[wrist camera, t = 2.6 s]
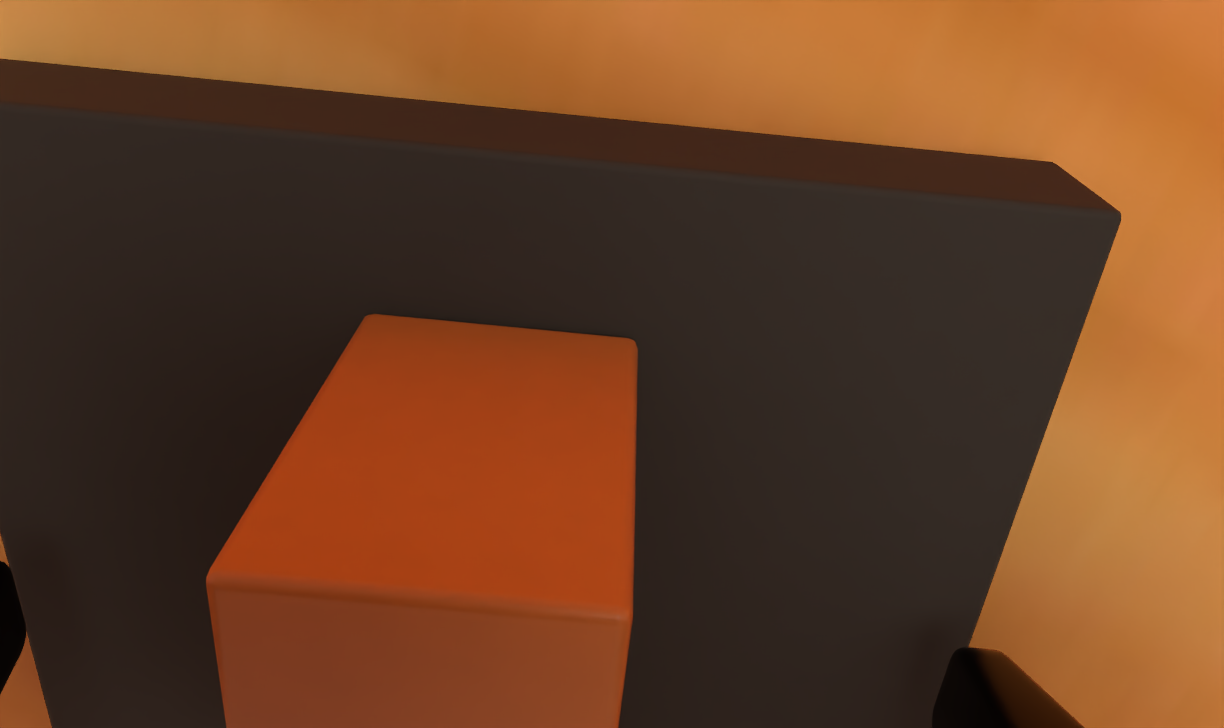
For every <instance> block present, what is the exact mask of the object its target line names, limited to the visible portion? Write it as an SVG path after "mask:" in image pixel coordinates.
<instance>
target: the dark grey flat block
mask: <svg viewBox="0 0 1224 728" xmlns="http://www.w3.org/2000/svg"><path fill="white" fill-rule="evenodd" d="M1120 222H1121V213H1120V212H1119V211H1118V210H1117V209H1115V208H1114V207H1113V206H1111V205H1110V204H1109V203H1107V202H1106V201H1105V200H1103V199H1102V198H1101V197H1099V196H1098V195H1097V194H1095V193H1094V192H1093V191H1091V190H1090V189H1089V188H1087V187H1086V186H1085V185H1083V184H1082V183H1081V182H1079V181H1078V180H1077V179H1075V178H1074V177H1072V176H1071V175H1070V174H1068V173H1067V172H1066V171H1064V170H1063V169H1062V168H1060V167H1059V166H1058V165H1056V164H1055V163H1053V162H1045V161H1035V160H1025V159H1015V158H1004V157H994V156H984V155H974V154H964V153H953V152H943V151H933V150H923V149H913V148H903V147H892V146H882V145H872V144H862V143H852V142H842V141H831V140H821V139H811V138H801V137H791V136H781V135H770V134H760V133H750V132H740V131H730V130H720V129H709V128H699V127H689V126H679V125H669V124H658V123H648V122H638V121H628V120H618V119H608V118H597V117H587V116H577V115H567V114H557V113H547V112H536V111H526V110H516V109H506V108H496V107H486V106H475V105H465V104H455V103H445V102H435V101H425V100H414V99H404V98H394V97H384V96H374V95H363V94H353V93H343V92H333V91H323V90H313V89H302V88H292V87H282V86H272V85H262V84H252V83H241V82H231V81H221V80H211V79H201V78H191V77H180V76H170V75H160V74H150V73H140V72H130V71H119V70H109V69H99V68H89V67H79V66H69V65H58V64H48V63H38V62H28V61H18V60H7V59H0V533H1V537H2V540H3V544H4V548H5V552H6V556H7V559H8V563H9V567H10V569H11V571H12V574H13V578H14V581H15V585H16V589H17V593H18V596H19V600H20V604H21V608H22V611H23V615H24V619H25V623H26V631H27V635H28V638H29V642H30V646H31V650H32V654H33V657H34V661H35V665H36V669H37V672H38V676H39V680H40V684H41V688H42V691H43V695H44V699H45V703H46V706H47V710H48V714H49V718H50V721H51V725H52V728H932V714H933V708H934V705H935V702H936V699H937V696H938V693H939V690H940V687H941V684H942V681H943V679H944V676H945V673H946V670H947V667H948V664H949V661H950V659H951V657H952V655H953V653H954V652H955V651H956V650H957V649H959V648H962V647H968V646H969V643H970V641H971V638H972V635H973V632H974V629H975V627H976V624H977V621H978V618H979V615H980V613H981V610H982V607H983V604H984V601H985V599H986V596H987V593H988V590H989V587H990V585H991V582H992V579H993V576H994V574H995V571H996V568H997V565H998V562H999V560H1000V557H1001V554H1002V551H1003V548H1004V546H1005V543H1006V540H1007V537H1008V534H1009V532H1010V529H1011V526H1012V523H1013V520H1014V518H1015V515H1016V512H1017V509H1018V507H1019V504H1020V501H1021V498H1022V495H1023V493H1024V490H1025V487H1026V484H1027V481H1028V479H1029V476H1030V473H1031V470H1032V467H1033V465H1034V462H1035V459H1036V456H1037V453H1038V451H1039V448H1040V445H1041V442H1042V440H1043V437H1044V434H1045V431H1046V428H1047V426H1048V423H1049V420H1050V417H1051V414H1052V412H1053V409H1054V406H1055V403H1056V400H1057V398H1058V395H1059V392H1060V389H1061V386H1062V384H1063V381H1064V378H1065V375H1066V373H1067V370H1068V367H1069V364H1070V361H1071V359H1072V356H1073V353H1074V350H1075V347H1076V345H1077V342H1078V339H1079V336H1080V333H1081V331H1082V328H1083V325H1084V322H1085V319H1086V317H1087V314H1088V311H1089V308H1090V306H1091V303H1092V300H1093V297H1094V294H1095V292H1096V289H1097V286H1098V283H1099V280H1100V278H1101V275H1102V272H1103V269H1104V266H1105V264H1106V261H1107V258H1108V255H1109V252H1110V250H1111V247H1112V244H1113V241H1114V238H1115V236H1116V233H1117V230H1118V227H1119V225H1120Z"/></svg>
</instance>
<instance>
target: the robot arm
mask: <svg viewBox="0 0 1224 728" xmlns="http://www.w3.org/2000/svg"><path fill="white" fill-rule="evenodd" d="M25 638H26V623H25V619H24V615H23V611H22V608H21V604H20V600H19V596H18V593H17V589H16V585H15V581H14V578H13V574H12V571H11V569H10V568H9V567H8V565H7V564H6V563H4V562H1V561H0V694H1V692H2V690H3V688H4V686H5V684H6V682H7V680H8V678H9V676H10V674H11V672H12V670H13V668H14V666H15V664H16V662H17V660H18V658H19V656H20V654H21V652H22V649H23V646H24V643H25ZM932 728H1084V727H1083V726H1082V725H1081V724H1080V723H1079V722H1078V721H1077V720H1076V719H1075V718H1074V717H1072V716H1071V715H1070V714H1069V713H1068V712H1067V711H1066V710H1065V709H1064V708H1063V707H1062V706H1061V705H1059V704H1058V703H1057V702H1056V701H1055V700H1054V699H1053V698H1052V697H1051V696H1050V695H1049V694H1048V693H1046V692H1045V691H1044V690H1043V689H1042V688H1041V687H1040V686H1039V685H1038V684H1037V683H1036V682H1035V681H1034V680H1032V679H1031V678H1030V677H1029V676H1028V675H1027V674H1026V673H1025V672H1024V671H1023V670H1022V669H1021V668H1019V667H1018V666H1017V665H1016V664H1015V663H1014V662H1013V661H1012V660H1011V659H1010V658H1009V657H1007V656H1006V655H1005V654H1003V653H1002V652H1000V651H996V650H990V649H979V648H968V647H962V648H959V649H957V650H956V651H955V652H954V653H953V655H952V657H951V659H950V661H949V664H948V667H947V670H946V673H945V676H944V679H943V681H942V684H941V687H940V690H939V693H938V696H937V699H936V702H935V705H934V708H933V714H932Z"/></svg>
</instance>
